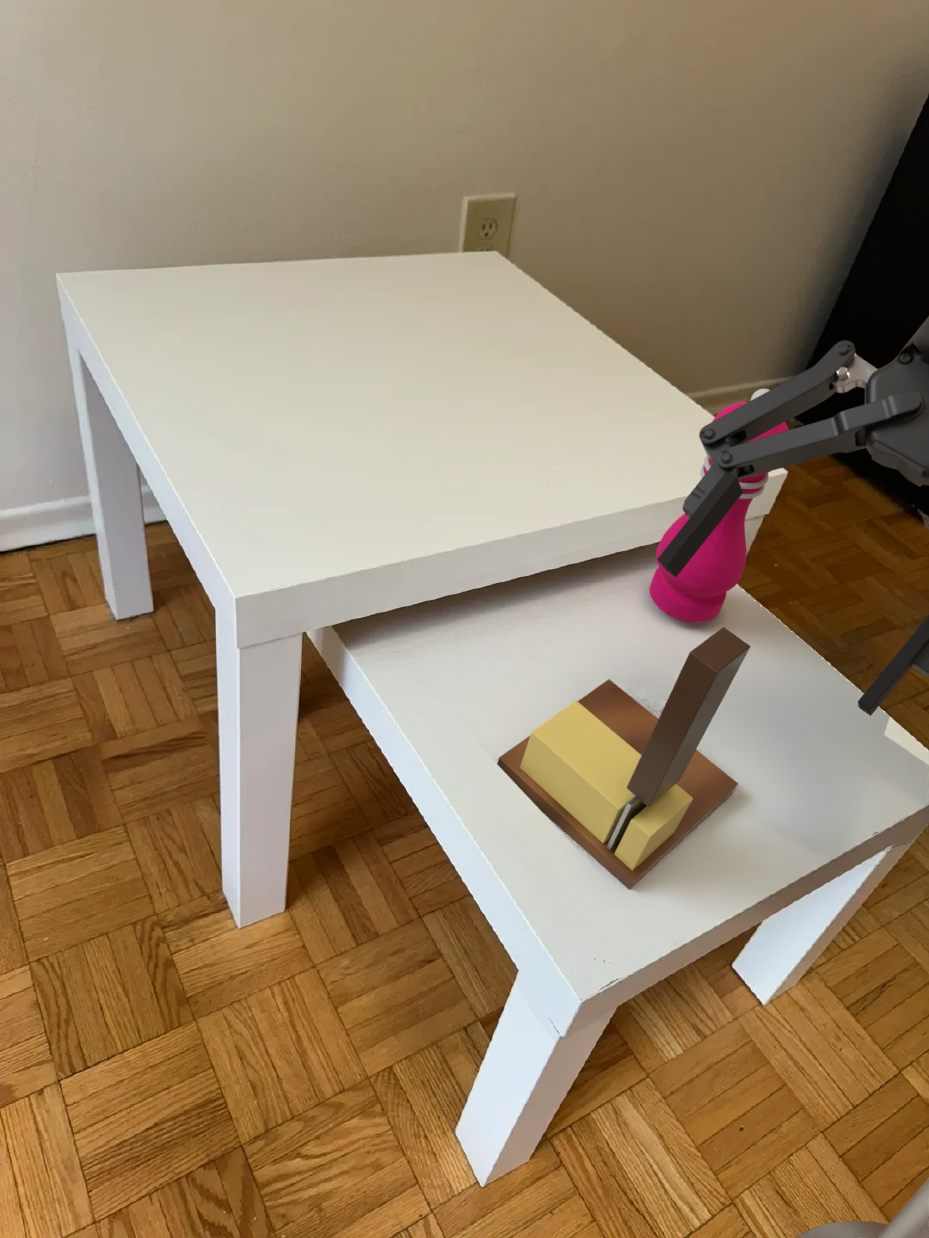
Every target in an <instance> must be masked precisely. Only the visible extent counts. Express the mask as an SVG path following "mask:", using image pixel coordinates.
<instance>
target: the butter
mask: <svg viewBox="0 0 929 1238" xmlns="http://www.w3.org/2000/svg"><path fill="white" fill-rule="evenodd" d="M577 701H578V700H574V701H573V702H571V703H570V704H568V705H567V706H566V707H564V708H563V709H561V710H559V712H558V713H557V712H556V714H555V715H553V716H552V717H550V718H549V719H548V720H546V721H545V722H543V723H542V724H540V725H538V726H537V727H536V728H535V729H533V730H532V731H531V733H530V734H529V736H530V739H529V742H528V745H527V748H526V751H525V754H524V757H523V760H522V763H521V767H520V768H521V769H522V770H523V771H524V772H525V773H526V774H527V775H528V776H529V777H531V778H532V779H533V780H534V781H535V782H536V783H537V784H538V785H539V786H540V787H541V788H543V789H544V790H545V791H546V792H547V793H548V794H549V795H550V796H551V797H552V798H554V799H555V800H556V801H557V802H558V803H559V804H560V805H561V806H562V807H563V808H564V809H566V810H567V811H568V812H569V813H570V814H571V815H572V816H573V817H574V818H575V819H576V820H578V821H579V822H580V823H581V824H582V825H583V826H584V827H585V828H586V829H587V830H589V831H590V832H591V833H592V834H593V835H594V836H595V837H596V838H597V839H598V840H599V841H601V842H602V843H603V844H604V843H605V842H606V841H607V840H609V839H610V838H611V837H612V834H613V832H614V830H615V828H616V826H617V824H618V822H619V820H620V818H621V816H622V814H623V811H624V809H625V807H626V805H627V803H628V802H629V801H631V800H632V799H633V798H634V797H635V795H634V794H633V793H632V792H631V791H629V790H628V789H627V785H628V783H629V781H630V779H631V777H632V775H633V773H634V770H635V768H636V766H637V764H638V762H639V760H640V758H641V754H640V753H638V752H637V751H636V750H635V749H634V748H632V747H631V746H630V745H629V744H628V743H626V742H625V741H624V740H623V739H622V738H620V737H619V736H618V735H617V734H616V733H614V732H613V731H612V730H611V729H610V728H609V727H607V726H606V725H605V724H604V723H603V722H601V721H600V720H599V719H598V718H597V717H595V716H594V715H593V714H592V713H591V712H589V711H588V710H587V709H586V708H585V707H583V706H582V705H581V704H580V703H579V702H577ZM692 800H693V798H692V797H691V796H690V795H689V794H688V793H686V792H685V791H684V790H683V789H682V788H680V787H679V786H678V785H677V784H675V785H674V786H673V787H672V788H670V789H669V790H668V791H667V792H666V793H665V794H664V795H662V796H661V797H660V798H659V799H658V800H657V801H656V802H655V803H653V804H652V805H651V806H650V807H648V806H646V807H645V808H644V809H643V810H642V811H641V812H640V813H638V814H637V815H636V816H635V817H634V818H633V819H631V821H630V823H629V825H628V827H627V829H626V831H625V833H624V835H623V837H622V839H621V841H620V844H619V846H618V848H617V850H616V852H615V856H617V857H618V858H619V859H620V860H621V861H622V862H623V863H624V864H625V865H626V866H628V867H629V868H630V869H631V870H632V871H633V870H634V869H635V868H636V867H637V866H639V865H640V864H641V863H642V862H643V861H644V860H645V859H646V858H647V857H648V856H649V855H650V854H652V853H653V852H654V851H655V850H656V849H657V848H658V847H659V846H660V845H661V844H662V843H663V842H665V841H666V840H667V839H668V838H669V837H670V836H671V835H672V834H673V833H674V832H675V830H676V828H677V826H678V825H679V823H680V821H681V819H682V818H683V816H684V814H685V812H686V810H687V809H688V807H689V805H690V803H691V802H692Z"/></svg>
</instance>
